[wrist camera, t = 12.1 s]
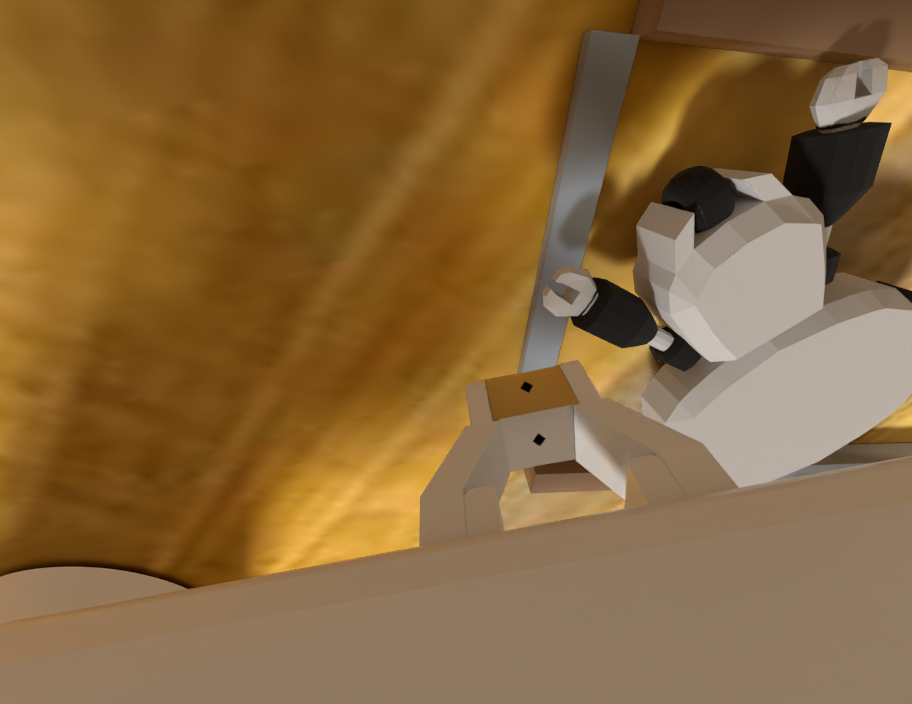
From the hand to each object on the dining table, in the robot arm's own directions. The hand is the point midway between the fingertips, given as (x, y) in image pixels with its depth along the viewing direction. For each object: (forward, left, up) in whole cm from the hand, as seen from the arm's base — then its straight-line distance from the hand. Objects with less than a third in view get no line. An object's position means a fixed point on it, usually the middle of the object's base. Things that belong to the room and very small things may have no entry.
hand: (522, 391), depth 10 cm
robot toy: (-1, -10, -7) cm, 12 cm away
